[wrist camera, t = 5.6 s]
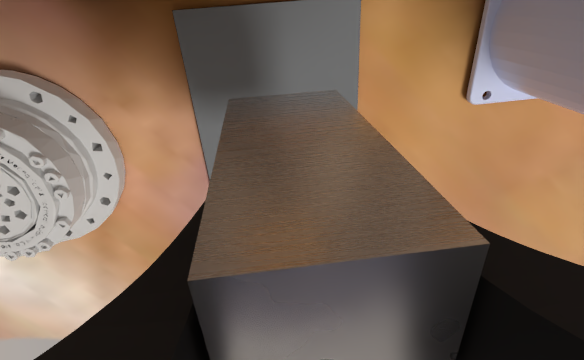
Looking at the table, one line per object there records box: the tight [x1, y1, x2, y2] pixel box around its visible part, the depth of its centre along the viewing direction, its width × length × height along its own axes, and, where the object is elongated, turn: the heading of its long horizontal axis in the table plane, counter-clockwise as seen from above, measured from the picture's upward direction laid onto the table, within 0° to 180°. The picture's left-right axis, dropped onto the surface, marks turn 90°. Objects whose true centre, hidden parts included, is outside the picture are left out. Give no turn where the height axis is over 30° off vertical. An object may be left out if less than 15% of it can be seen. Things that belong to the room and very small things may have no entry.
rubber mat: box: [172, 0, 361, 179], centre depth 19 cm, size 9×14×1 cm, turn 4°
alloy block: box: [187, 90, 490, 360], centre depth 9 cm, size 4×4×9 cm
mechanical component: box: [0, 70, 126, 261], centre depth 17 cm, size 10×4×10 cm
